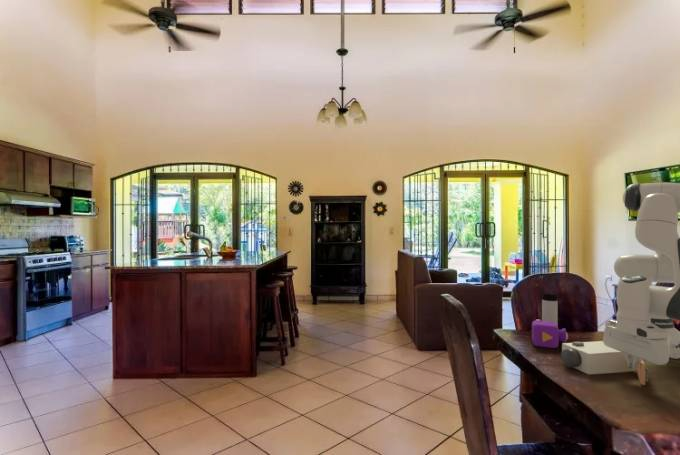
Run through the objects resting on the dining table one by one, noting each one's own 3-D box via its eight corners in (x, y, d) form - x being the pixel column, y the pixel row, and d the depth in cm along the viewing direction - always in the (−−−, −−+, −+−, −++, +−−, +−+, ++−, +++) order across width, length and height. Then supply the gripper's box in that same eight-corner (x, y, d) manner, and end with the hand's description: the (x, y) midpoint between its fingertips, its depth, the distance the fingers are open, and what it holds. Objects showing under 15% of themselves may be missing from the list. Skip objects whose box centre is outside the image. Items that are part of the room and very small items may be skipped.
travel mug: (539, 336, 176) (539, 292, 176) (544, 333, 180) (544, 291, 180) (554, 339, 171) (554, 294, 171) (559, 336, 176) (559, 292, 176)
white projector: (603, 359, 145) (603, 338, 145) (633, 371, 133) (633, 348, 133) (554, 362, 141) (555, 341, 141) (581, 375, 129) (581, 351, 129)
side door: (633, 368, 134) (633, 351, 134) (642, 370, 133) (642, 352, 133) (638, 383, 121) (638, 364, 121) (648, 385, 119) (648, 366, 119)
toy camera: (571, 350, 156) (571, 326, 156) (535, 348, 158) (535, 324, 158) (562, 342, 166) (562, 319, 166) (528, 340, 169) (528, 318, 169)
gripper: (598, 318, 134) (598, 358, 134) (655, 335, 114) (655, 381, 114) (613, 318, 135) (613, 357, 135) (673, 334, 115) (672, 380, 115)
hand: (633, 368), depth 124 cm, fingers closed
